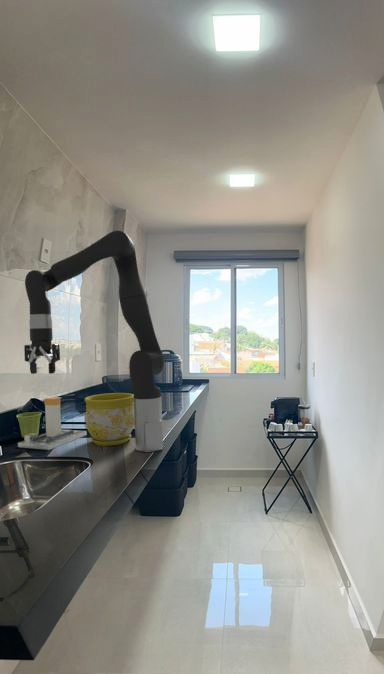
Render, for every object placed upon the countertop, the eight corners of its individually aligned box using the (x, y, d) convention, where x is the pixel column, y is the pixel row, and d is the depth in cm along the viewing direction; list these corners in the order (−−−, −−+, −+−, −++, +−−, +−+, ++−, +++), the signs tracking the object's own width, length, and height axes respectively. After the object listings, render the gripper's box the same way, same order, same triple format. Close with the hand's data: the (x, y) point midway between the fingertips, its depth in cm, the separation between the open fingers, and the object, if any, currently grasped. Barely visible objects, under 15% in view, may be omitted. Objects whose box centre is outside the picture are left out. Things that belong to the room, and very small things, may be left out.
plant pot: (25, 440, 150) (24, 417, 150) (12, 437, 156) (11, 415, 156) (47, 434, 158) (46, 413, 158) (34, 432, 163) (33, 411, 163)
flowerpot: (125, 448, 133) (124, 400, 133) (77, 447, 137) (75, 400, 137) (143, 435, 151) (141, 392, 151) (99, 434, 154) (97, 393, 154)
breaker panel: (86, 434, 155) (86, 425, 155) (48, 449, 135) (48, 439, 135) (58, 432, 160) (57, 424, 160) (17, 447, 140) (17, 437, 140)
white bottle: (61, 435, 148) (60, 397, 148) (55, 437, 145) (54, 399, 145) (52, 434, 150) (50, 397, 150) (46, 436, 147) (44, 398, 147)
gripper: (64, 326, 140) (65, 372, 140) (33, 328, 146) (34, 372, 146) (49, 326, 133) (51, 374, 133) (17, 328, 139) (19, 374, 139)
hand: (42, 373), depth 140 cm, fingers open, 7 cm apart
